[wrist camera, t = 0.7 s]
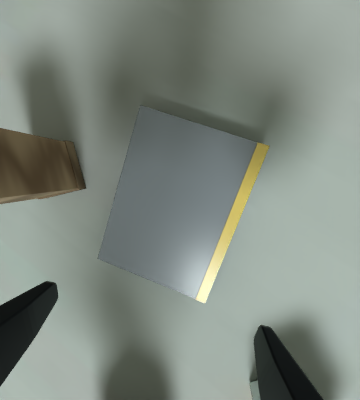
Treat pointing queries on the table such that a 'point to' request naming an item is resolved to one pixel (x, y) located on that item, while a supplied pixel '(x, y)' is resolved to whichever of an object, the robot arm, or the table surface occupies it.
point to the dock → (179, 201)
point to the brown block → (36, 167)
